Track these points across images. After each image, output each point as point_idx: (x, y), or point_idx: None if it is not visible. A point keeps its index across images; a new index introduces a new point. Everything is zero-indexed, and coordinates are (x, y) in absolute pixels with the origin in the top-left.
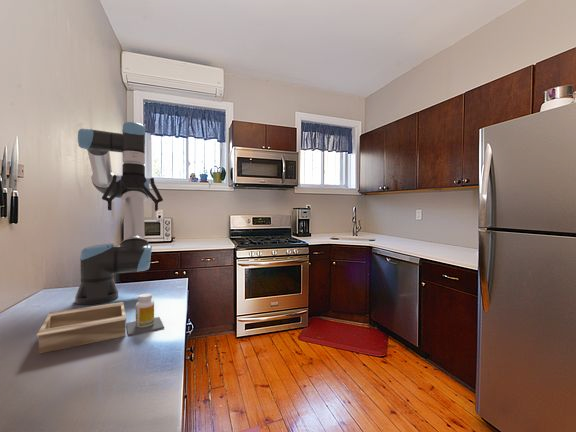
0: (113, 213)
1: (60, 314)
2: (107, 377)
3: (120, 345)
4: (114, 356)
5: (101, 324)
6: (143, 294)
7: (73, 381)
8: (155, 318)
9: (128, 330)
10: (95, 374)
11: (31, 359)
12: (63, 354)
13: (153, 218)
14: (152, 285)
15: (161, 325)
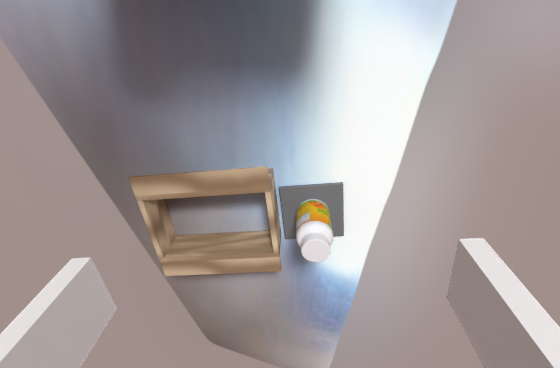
0: (79, 363)
1: (156, 198)
2: (270, 318)
3: None
4: (272, 284)
5: (245, 271)
6: (312, 244)
7: (239, 311)
8: (334, 189)
9: (284, 224)
10: (257, 309)
11: None
12: None
13: (459, 304)
14: None
15: (340, 227)
